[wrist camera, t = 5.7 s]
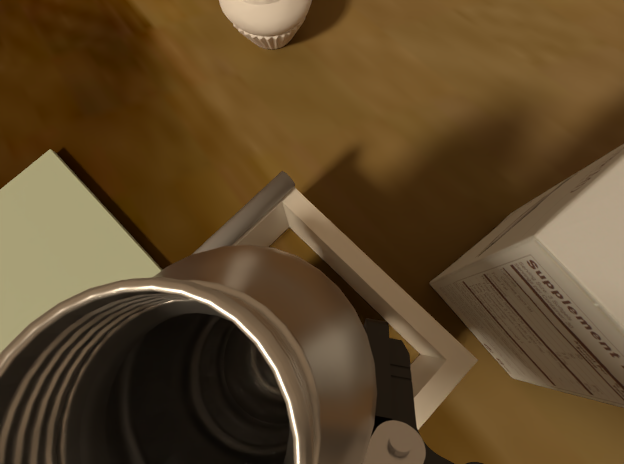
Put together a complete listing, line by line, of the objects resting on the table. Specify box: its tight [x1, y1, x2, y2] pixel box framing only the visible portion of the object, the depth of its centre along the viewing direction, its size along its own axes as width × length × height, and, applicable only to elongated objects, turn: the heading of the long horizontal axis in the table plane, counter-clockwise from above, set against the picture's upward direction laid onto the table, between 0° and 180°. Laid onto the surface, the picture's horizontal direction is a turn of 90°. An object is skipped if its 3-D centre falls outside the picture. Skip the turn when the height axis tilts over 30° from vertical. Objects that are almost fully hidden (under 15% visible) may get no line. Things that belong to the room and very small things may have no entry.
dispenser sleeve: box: [192, 171, 478, 429], centre depth 20 cm, size 13×13×6 cm
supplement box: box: [429, 144, 624, 408], centre depth 18 cm, size 7×7×13 cm
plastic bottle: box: [0, 245, 377, 464], centre depth 13 cm, size 6×7×20 cm
